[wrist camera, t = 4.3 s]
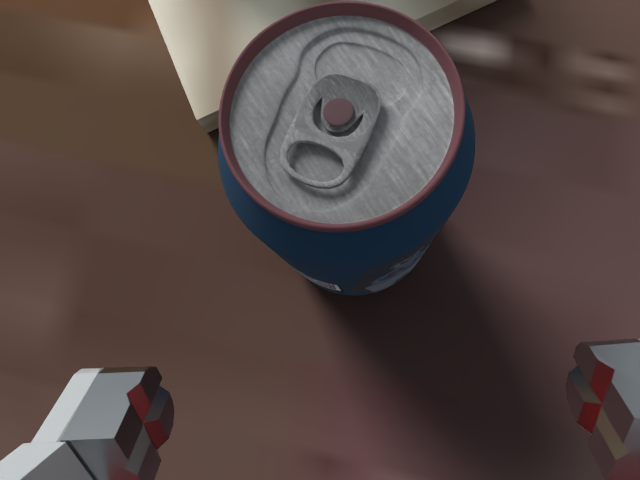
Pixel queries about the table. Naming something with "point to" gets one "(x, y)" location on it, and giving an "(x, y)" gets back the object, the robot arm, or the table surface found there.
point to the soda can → (345, 142)
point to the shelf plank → (252, 36)
